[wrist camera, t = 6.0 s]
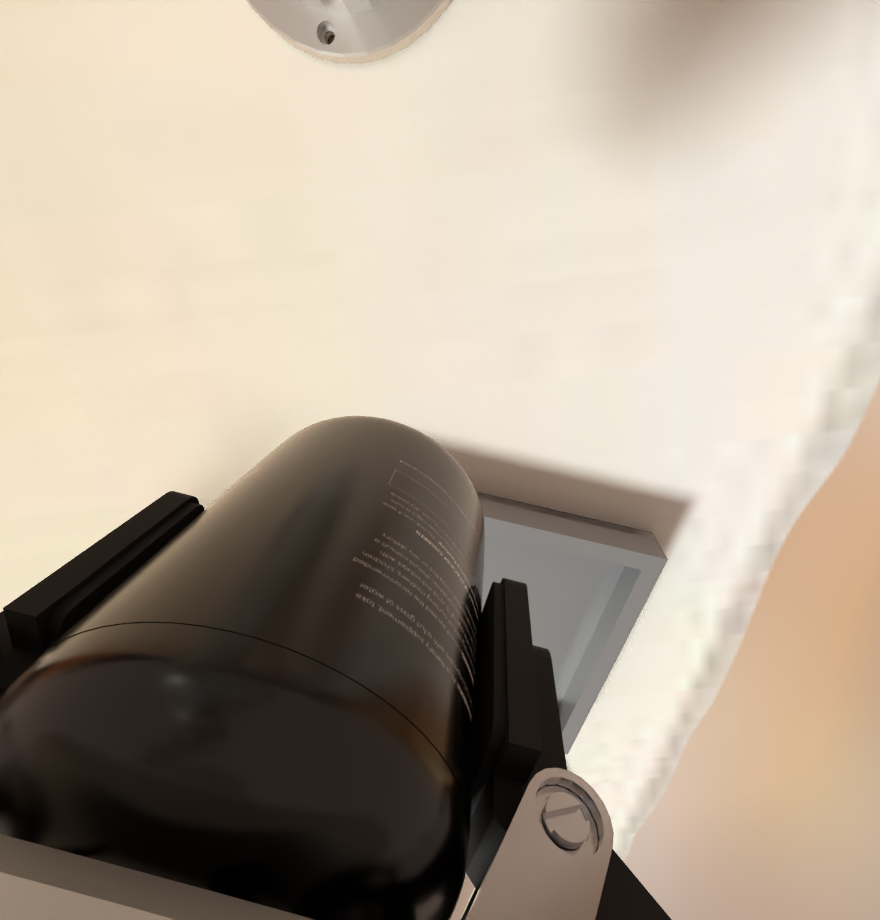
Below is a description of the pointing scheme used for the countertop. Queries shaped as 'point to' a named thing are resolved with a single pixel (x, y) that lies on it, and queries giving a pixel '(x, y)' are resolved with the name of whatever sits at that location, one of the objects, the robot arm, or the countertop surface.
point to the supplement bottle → (276, 690)
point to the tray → (572, 591)
